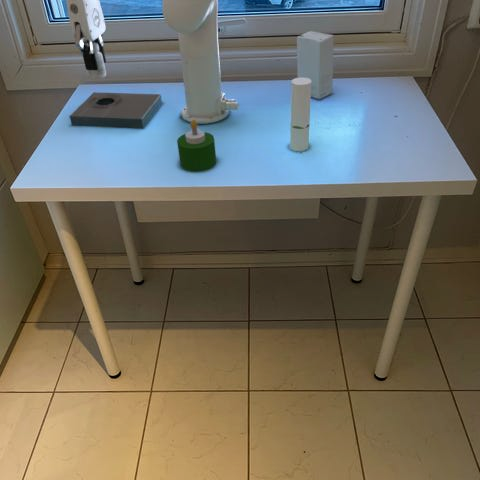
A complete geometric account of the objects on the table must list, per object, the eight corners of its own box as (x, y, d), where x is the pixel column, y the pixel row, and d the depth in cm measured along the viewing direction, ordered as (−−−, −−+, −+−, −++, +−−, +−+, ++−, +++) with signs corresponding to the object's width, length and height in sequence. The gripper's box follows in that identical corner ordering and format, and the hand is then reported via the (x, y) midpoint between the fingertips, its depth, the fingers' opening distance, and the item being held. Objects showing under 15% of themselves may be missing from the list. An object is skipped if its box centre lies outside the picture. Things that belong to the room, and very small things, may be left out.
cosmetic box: (332, 93, 144) (336, 35, 133) (318, 100, 141) (321, 41, 130) (309, 86, 148) (311, 29, 138) (295, 93, 145) (296, 34, 135)
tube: (287, 145, 123) (287, 79, 113) (303, 141, 124) (305, 76, 114) (295, 152, 120) (297, 86, 110) (311, 148, 122) (315, 82, 111)
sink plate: (162, 103, 145) (160, 94, 143) (143, 128, 134) (141, 119, 132) (95, 101, 149) (93, 92, 147) (71, 125, 138) (69, 116, 136)
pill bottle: (108, 73, 138) (102, 41, 133) (104, 79, 135) (97, 47, 130) (92, 73, 139) (85, 41, 133) (87, 79, 136) (80, 47, 130)
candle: (180, 155, 122) (174, 113, 115) (215, 152, 123) (211, 110, 116) (180, 172, 116) (173, 129, 109) (216, 169, 117) (213, 126, 110)
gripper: (78, -7, 116) (97, 78, 129) (106, -24, 128) (121, 55, 141) (47, -7, 117) (69, 77, 130) (78, -24, 129) (95, 54, 142)
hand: (96, 65), depth 135 cm, fingers closed on pill bottle, 4 cm apart
